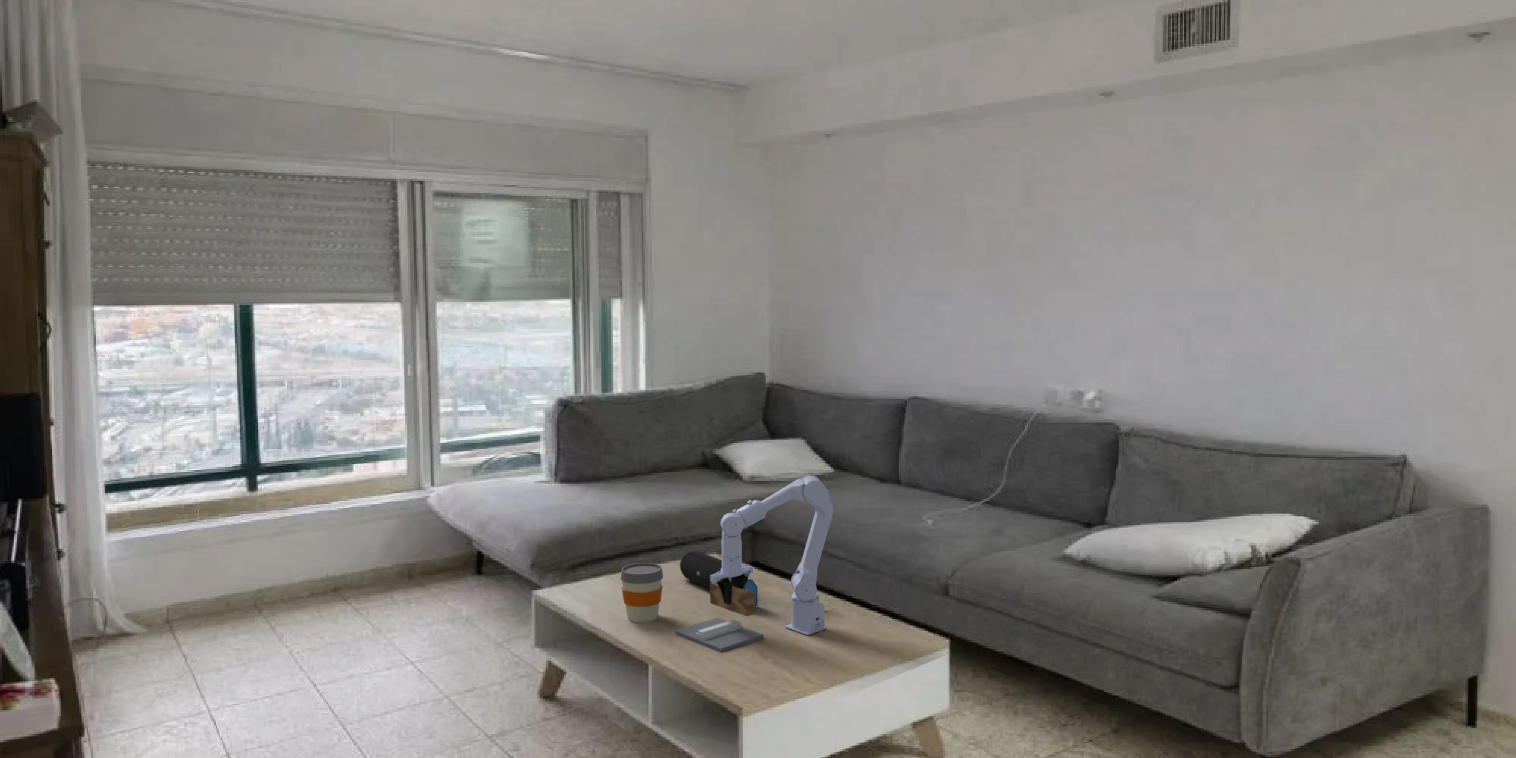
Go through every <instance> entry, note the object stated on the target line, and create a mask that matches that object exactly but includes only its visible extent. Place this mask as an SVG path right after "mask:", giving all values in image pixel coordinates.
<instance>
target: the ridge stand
mask: <svg viewBox="0 0 1516 758" xmlns="http://www.w3.org/2000/svg"><path fill="white" fill-rule="evenodd" d="M674 634H675V635H676V636H678V637H681V638H684V639H687V640H689V641H692V642H694V643H696V644H699V645H701V646H705V647H707V648H709V649H712V650H715V651H716V652H718V653H719V652H720V653H722V652H725V651H728V650H732V649H735V648H737V647H741V646H744V645H746V644H750V643H753V642H756V641H758V640H762V639H764V638H765V634H764V633H761V632H758V631H755V630H752V629H751V628H747V627H745V626H743V624H741V621H740V620H739V619H736V618H735V619H731V620H725V619H722V618H720V617H714V618H713V619H708V620H706V621H702V622H699V623H696V624H692V625H689V626H685V627H682V628H678V629H675V630H674Z"/></svg>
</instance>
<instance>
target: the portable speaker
mask: <svg viewBox="0 0 1516 758" xmlns="http://www.w3.org/2000/svg"><path fill="white" fill-rule="evenodd" d="M721 568H722V559H720V558H716V557H715V556H712V555H709V554H707V553H704V552H701V551H699V550H692V551H689V552H687V553H685V554H684V555H683V556H682V557H681V559H680V562H679V570H680V572H681V574H682V575H683V577H684V578H685V579H687V580H690V581H691V582H693V583H696V584H697V585H700V586H702V587H705V588H707V589H710V583H713V582H710V575H713V574H715V573H717V572H719V571H721ZM729 580H730V581H731V578H729Z"/></svg>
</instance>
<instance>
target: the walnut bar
mask: <svg viewBox="0 0 1516 758" xmlns="http://www.w3.org/2000/svg"><path fill="white" fill-rule="evenodd" d="M709 592H710V593H709V597H710V598H709V600H710V601H709V603H710V605H714V606H717V607H719V608H722V609H725V610H728V611H729V612H730V611H731V612H733V613H737V614H739V615H742V616H745V617H750V616H753V615H755V614H756V608H755V593H752V592H749V591H746V590H743V589H740V588H737V587H734V586H733V587H732V591H731V604H729V605H728V604H725V603H724V600H723V596H722V593H721V590H720V588H719V586H718V584H717V583H710V591H709Z"/></svg>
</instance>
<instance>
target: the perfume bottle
mask: <svg viewBox="0 0 1516 758" xmlns="http://www.w3.org/2000/svg"><path fill="white" fill-rule="evenodd" d="M745 576H747V577H748V581H747V582H746V584H745V586H744V588H743V590H746V591H749V592H752V593H755V607H756V606H758V607H759V604H758V603H759V602H758V601H759V599H758V597H759V596H758V595H759V594H758V591H759V590H758V586H757V584H756V583H755V581H754V579H751V578H749V577H750V574H749V573H748V574H745ZM756 608H757V607H756Z"/></svg>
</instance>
